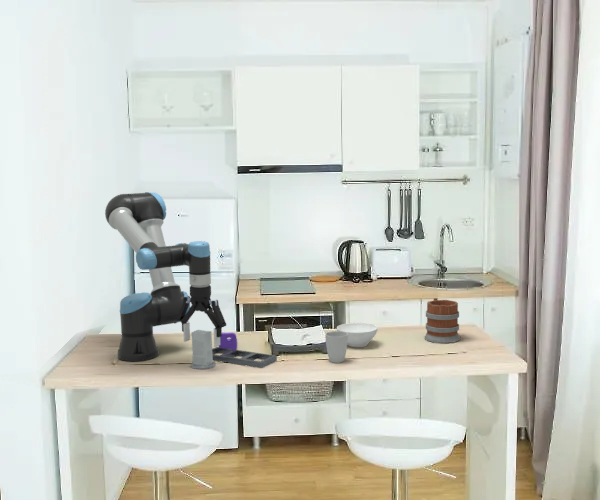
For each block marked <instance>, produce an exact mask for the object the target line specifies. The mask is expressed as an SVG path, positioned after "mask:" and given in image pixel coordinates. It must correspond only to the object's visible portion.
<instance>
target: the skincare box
mask: <svg viewBox="0 0 600 500" xmlns="http://www.w3.org/2000/svg"><path fill="white" fill-rule="evenodd" d="M191 346H192V347H191V348H192V351H191V352H192V363H193V364H194V365H202V366H208V365H210V364H212V363H213V362H214V360H213V357H212V349H213V340H212V331H211V330H203V329H196V330H194V331H191Z"/></svg>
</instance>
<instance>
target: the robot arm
mask: <svg viewBox="0 0 600 500" xmlns="http://www.w3.org/2000/svg"><path fill="white" fill-rule="evenodd" d="M104 211H105V212H104V214H105V220H106V221H107V223H108V225H109V226H110V227H111V228H112V229H114V230H116V231H118V233H119V234H120V235H121V236H122V238H123V239H124V240H125V242H127V244H128V245H129V246H130V247H131V248H132V250H133V251H134V252H135V262H136V265H137V267H138V269H139V270H142V271H143V270H144V271H146V270H148V273H149V276H150V277H149V278H150V279H151V280H150V281H151V285H152V290H151V291H150V293H149V292H136V293H131V294H129V295H126V296H124V297H123V298H122V299H121V300H120V303H119V314H120V330H121V331H120V332H121V339H120V342H119V346H118V349H117V358H118V359H119V360H120V361H124V362H140V361H141V362H142V361H148V360H152V359H154V358H157V357H158V356H159V355H160V354H159V353H160V351H159V346H157V343H156V338H155V337H154V332H153V331H154V328H153V327H159V326H163V325H170V324H171V325H172V324H177V323H181V332H183V342H188V341H190V340H191V329H190V327H191V326H190V325H191V324H190V322H189V320H190V319H191V318H192V316H193V315H194V314H195V312H203V313H204V314H206V316H207V318H209V320H210V321H211V323H212V325H213V326H214V328H213V348H215V347H219V345H220V337H221V336H222V333H223V331H222V330H223V329H222V328H224V327H226V326H227V322H226V320H225V318H224V315H223V313H222V310H221V308H220V306H219V305H220V304H219V300H218V299H213V300H212V299H211V296H212V286H211V284H212V281H211V280H212V278H211V277H212V276H211V275H212V273H211V248H210V244H209V242H208V241H205V240H204V241H202V240H201V241H200V240H196V241H190V242H189V243H187V242H186V243H185V242H183V243H182V242H181V243H177V244H175V245H166V242H165V238H164V234H163V230H162V226H163V224H164V220H165V219H166V217H167V206H166V202H165V200H164V198H163V197H162V195H160V194H158V192H157V193H156V192H139V193H138V192H136V193H120V194H117V195H115V196H113V197H112V198H111V199H110V200H109V201H108V203H107V204H106V207H105V210H104ZM181 266H187V267H188V274H189V278H188V279H189V280H188V281H189V285H190V286H189V294H188V293H187V291H184V290H182V288H181V285H179V284H178V283H176V281H175V277H174V273H173V269H172V268H173V267H181Z"/></svg>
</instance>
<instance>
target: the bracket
mask: <svg viewBox="0 0 600 500" xmlns="http://www.w3.org/2000/svg"><path fill="white" fill-rule="evenodd" d="M218 347H221V348H228V349H235V350H238V338H237V335H236V333H235V332H222V336H221V337H220V345H219V346H218Z"/></svg>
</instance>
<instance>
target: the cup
mask: <svg viewBox="0 0 600 500" xmlns="http://www.w3.org/2000/svg"><path fill="white" fill-rule="evenodd" d="M324 336H325V346H326V353H327V357H328V359H329V362H331V363H336V364H337V363H340V364H341V363H343V362H344V361H345V358H346V354H347V350H348V349H347V348H348V345H347V338H348V334H347V333H346V332H341V331H337V330H336V331H329V332H326V333H325V335H324Z"/></svg>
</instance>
